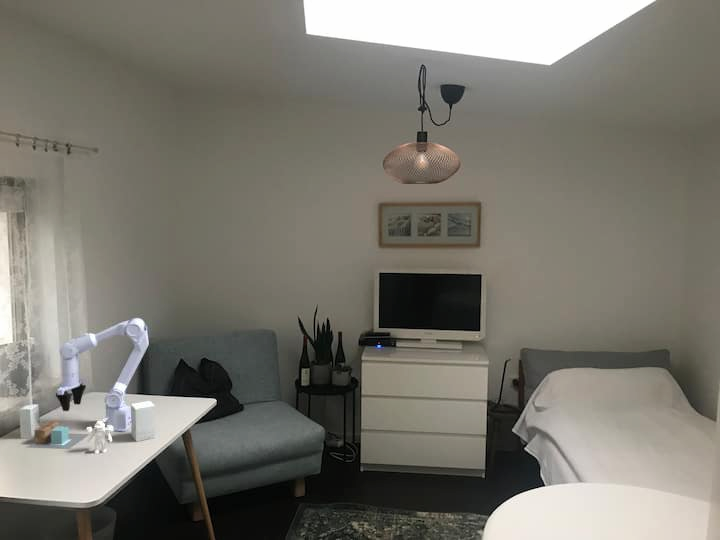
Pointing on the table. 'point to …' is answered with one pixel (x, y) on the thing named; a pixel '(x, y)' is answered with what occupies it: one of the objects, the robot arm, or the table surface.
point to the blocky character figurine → (100, 435)
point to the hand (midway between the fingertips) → (71, 407)
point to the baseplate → (72, 441)
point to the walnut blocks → (44, 432)
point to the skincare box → (29, 420)
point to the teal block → (59, 435)
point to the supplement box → (143, 421)
